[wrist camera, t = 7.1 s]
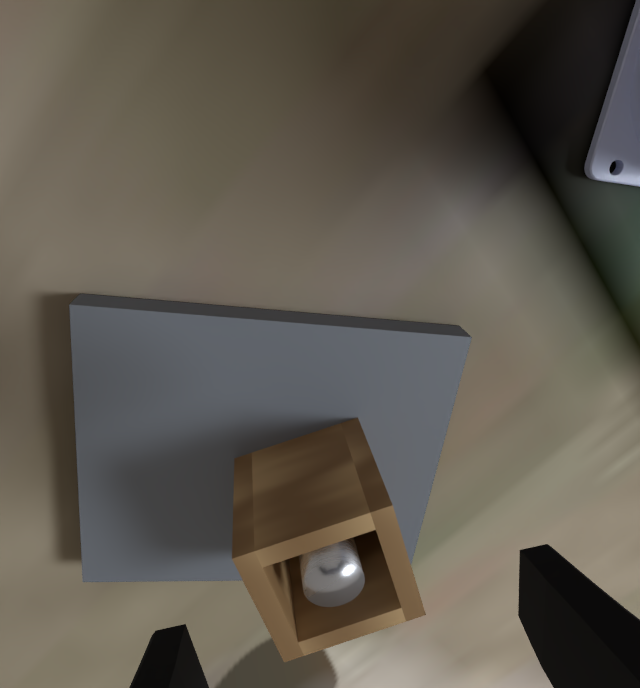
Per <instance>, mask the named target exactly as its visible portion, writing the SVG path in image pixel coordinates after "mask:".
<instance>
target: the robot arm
mask: <svg viewBox="0 0 640 688" xmlns="http://www.w3.org/2000/svg"><path fill="white" fill-rule="evenodd" d="M614 161H615V162H616V168H615V170H614V172H612V173H610V171H609V169H610V165H611V164H612V162H614ZM584 170H585V174H586V175H587V177H588V178H590V179H592V180H598V181H605V182H612V183H619V184H625V185H632V186H639V187H640V0H636V2H635V5H634V8H633V11H632V14H631V18H630V21H629V24H628V27H627V30H626V34H625V37H624V40H623V43H622V46H621V50H620V53H619V56H618V59H617V62H616V66H615V69H614V72H613V75H612V78H611V82H610V85H609V88H608V91H607V94H606V98H605V101H604V104H603V107H602V110H601V114H600V117H599V120H598V123H597V126H596V130H595V133H594V136H593V139H592V142H591V146H590V149H589V152H588V155H587V158H586V162H585V167H584ZM518 616H519V618H520V620H521V622H522V625H523V627H524V629H525V631H526V634H527V636H528V638H529V640H530V643H531V645H532V647H533V649H534V651H535V653H536V656H537V658H538V660H539V662H540V664H541V666H542V668H543V670H544V672H545V673H546V675H547V677H548V679H549V680H550V682H551V684H552V685H553V687H554V688H640V620H639V619H638V618H637V617H635V616H634V615H633V614H632V613H630V612H629V611H628V610H626V609H625V608H624V607H623V606H621V605H620V604H619V603H618V602H617V601H615V600H614V599H613V598H612V597H610V596H609V595H608V594H607V593H605V592H604V591H603V590H602V589H601V588H599V587H598V586H597V585H596V584H595V583H593V582H592V581H591V580H590V579H589V578H587V577H586V576H585V575H584V574H583V573H581V572H580V571H579V570H578V569H577V568H575V567H574V566H573V565H572V564H571V563H570V562H568V561H567V560H566V559H565V558H564V557H562V556H561V555H560V554H559V553H558V552H557V551H555V550H554V549H553V548H552V547H550V546H549V545H548V544H545V545H541V546H536V547H532V548H527V549H523V550H520V570H519V614H518ZM130 688H209V686H208V684H207V681H206V678H205V676H204V673H203V670H202V667H201V665H200V662H199V659H198V657H197V654H196V651H195V649H194V646H193V643H192V641H191V638H190V635H189V632H188V630H187V627H186V624H184V625H180V626H175V627H171V628H166V629H161V630H157V631H155V633H154V634H153V635H152V637H151V639H150V642H149V644H148V646H147V649H146V651H145V653H144V656H143V658H142V660H141V663H140V665H139V667H138V670H137V672H136V674H135V676H134V679H133V681H132V683H131V685H130Z"/></svg>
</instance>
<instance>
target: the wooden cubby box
mask: <svg viewBox="0 0 640 688" xmlns="http://www.w3.org/2000/svg"><path fill="white" fill-rule="evenodd" d="M352 537H354V540H355V544H356V547H357V551H358V555H359V558H360V562H361V566H362V569H363V573H364V577H365V583H364V587H363V589H362V591H361V592H360V593H359V595H358V596H357V597H356V598H354V599H353V600H352V601H350V602H348V603H346V604H343V605H340V606H336V607H322V606H318V605H315V604H313V603H312V602H310V601H309V600H308V599H307V598H306V596H305V594H304V592H303V585H302V577H301V570H300V562H299V555H301V554H304V553H307V552H310V551H313V550H316V549H319V548H322V547H325V546H328V545H331V544H334V543H337V542H340V541H343V540H346V539H349V538H352ZM232 560H233V562H234V564H235V566H236V568H237V570H238V572H239V574H240V576H241V578H242V580H243V582H244V584H245V586H246V588H247V590H248V592H249V594H250V596H251V597H252V599H253V601H254V603H255V605H256V607H257V609H258V611H259V613H260V615H261V617H262V619H263V621H264V623H265V625H266V627H267V629H268V631H269V633H270V635H271V637H272V639H273V641H274V643H275V645H276V647H277V649H278V651H279V653H280V654H281V657H282V659H283V661H284V662H287V661H290V660H293V659H296V658H299V657H302V656H305V655H308V654H311V653H313V652H316V651H320V650H323V649H326V648H329V647H331V646H334V645H337V644H340V643H343V642H346V641H349V640H352V639H355V638H358V637H361V636H364V635H367V634H370V633H373V632H376V631H379V630H382V629H385V628H388V627H391V626H394V625H397V624H400V623H403V622H406V621H409V620H412V619H415V618H418V617H421V616H424V615H426V614H425V611H424V607H423V604H422V601H421V597H420V594H419V591H418V587H417V584H416V581H415V577H414V574H413V571H412V568H411V564H410V561H409V558H408V554H407V551H406V548H405V544H404V541H403V538H402V534H401V531H400V528H399V524H398V521H397V518H396V514H395V511H394V508H393V505H392V502H391V500H390V497H389V495H388V492H387V490H386V487H385V485H384V482H383V479H382V477H381V474H380V472H379V469H378V467H377V464H376V462H375V459H374V457H373V454H372V452H371V449H370V447H369V444H368V442H367V439H366V437H365V434H364V432H363V429H362V427H361V424H360V422H359V419H358V418H355V419H352V420H349V421H346V422H343V423H340V424H337V425H334V426H331V427H328V428H325V429H322V430H319V431H316V432H313V433H310V434H307V435H304V436H301V437H297V438H294V439H291V440H288V441H285V442H282V443H279V444H276V445H273V446H270V447H267V448H264V449H261V450H258V451H255V452H252V453H249V454H246V455H243V456H240V457H237V458H234V495H233V534H232Z"/></svg>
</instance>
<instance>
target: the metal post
mask: <svg viewBox="0 0 640 688" xmlns="http://www.w3.org/2000/svg"><path fill="white" fill-rule="evenodd" d="M299 562H300V570H301V577H302V585H303V592H304V594H305V596H306V598H307V599H308V600H309V601H310V602H312V603H313V604H315V605H318V606H322V607H336V606H340V605H343V604H346V603H348V602H350V601H352V600H353V599H354V598H356V597H357V596H358V595H359V593H360V592H361V591H362V589H363V587H364V583H365V577H364V573H363V569H362V566H361V562H360V558H359V555H358V551H357V547H356V544H355V540H354V537H352V538H349V539H346V540H343V541H340V542H337V543H334V544H331V545H328V546H325V547H322V548H319V549H316V550H313V551H310V552H307V553H304V554H301V555H299Z"/></svg>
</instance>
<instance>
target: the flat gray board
mask: <svg viewBox="0 0 640 688" xmlns="http://www.w3.org/2000/svg"><path fill="white" fill-rule="evenodd" d="M69 309H70V330H71V350H72V371H73V391H74V412H75V432H76V453H77V473H78V494H79V514H80V535H81V555H82V576H83V582H136V581H230V580H242V578H241V576H240V574H239V572H238V570H237V568H236V566H235V564H234V562H233V560H232V534H233V495H234V458H237V457H240V456H243V455H246V454H249V453H252V452H255V451H258V450H261V449H264V448H267V447H270V446H273V445H276V444H279V443H282V442H285V441H288V440H291V439H294V438H297V437H301V436H304V435H307V434H310V433H313V432H316V431H319V430H322V429H325V428H328V427H331V426H334V425H337V424H340V423H343V422H346V421H349V420H352V419H355V418H358V419H359V422H360V424H361V427H362V429H363V432H364V434H365V437H366V439H367V442H368V444H369V447H370V449H371V452H372V454H373V457H374V459H375V462H376V464H377V467H378V469H379V472H380V474H381V477H382V479H383V482H384V485H385V487H386V490H387V492H388V495H389V497H390V500H391V502H392V505H393V508H394V511H395V514H396V518H397V521H398V524H399V528H400V531H401V534H402V538H403V541H404V544H405V548H406V551H407V554H408V558H409V561H410V564H411V563H412V559H413V556H414V552H415V548H416V544H417V541H418V537H419V533H420V529H421V526H422V522H423V518H424V514H425V511H426V507H427V503H428V499H429V496H430V492H431V488H432V484H433V481H434V477H435V473H436V469H437V466H438V462H439V458H440V454H441V451H442V447H443V443H444V439H445V436H446V432H447V428H448V424H449V421H450V417H451V413H452V409H453V406H454V402H455V398H456V394H457V391H458V387H459V383H460V379H461V376H462V372H463V368H464V364H465V360H466V357H467V353H468V349H469V345H470V342H471V338H472V337H471V336H470V335H469V334H468V333H467V332H465V331H464V330H463V329H462V328H461V327H460V326H456V325H444V324H433V323H421V322H409V321H397V320H385V319H374V318H362V317H350V316H338V315H327V314H315V313H303V312H291V311H280V310H268V309H256V308H244V307H233V306H221V305H209V304H197V303H186V302H174V301H162V300H150V299H138V298H127V297H115V296H103V295H91V294H79V295H78V296H77V297H76V298H75V299H74V300H73V301H72V302H71V303H70V304H69Z"/></svg>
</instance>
